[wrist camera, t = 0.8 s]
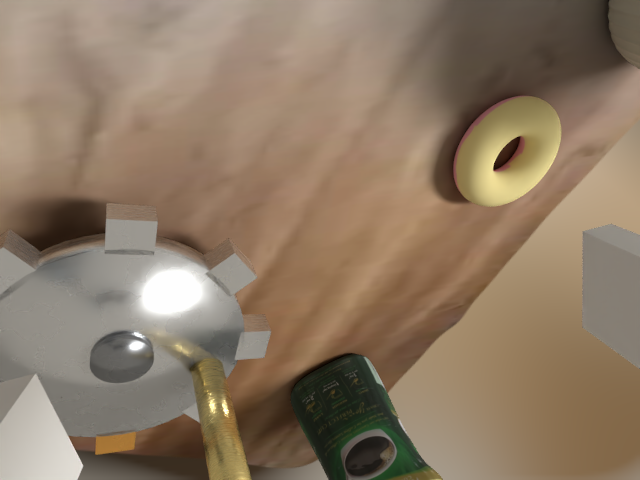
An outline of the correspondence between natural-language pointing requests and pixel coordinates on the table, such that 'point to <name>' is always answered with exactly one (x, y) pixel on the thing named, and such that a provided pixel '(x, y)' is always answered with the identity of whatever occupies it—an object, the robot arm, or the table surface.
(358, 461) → the coffee jar
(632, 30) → the canister
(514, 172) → the donut
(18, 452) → the robot arm
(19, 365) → the sprocket
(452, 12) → the table surface
